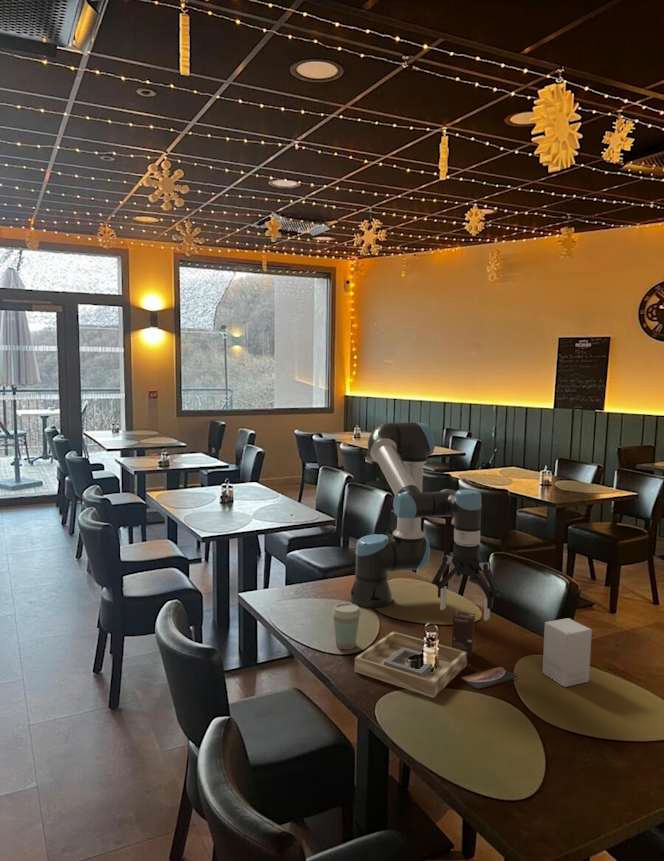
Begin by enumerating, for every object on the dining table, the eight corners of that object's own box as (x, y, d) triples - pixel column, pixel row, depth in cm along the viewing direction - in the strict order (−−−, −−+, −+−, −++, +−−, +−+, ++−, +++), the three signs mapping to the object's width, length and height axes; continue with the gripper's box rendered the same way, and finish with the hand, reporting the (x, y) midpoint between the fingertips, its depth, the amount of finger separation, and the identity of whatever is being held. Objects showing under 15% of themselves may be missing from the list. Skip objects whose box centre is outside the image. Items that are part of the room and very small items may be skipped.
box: (451, 655, 189) (452, 616, 187) (453, 648, 193) (454, 610, 192) (472, 658, 187) (473, 618, 186) (473, 651, 191) (475, 613, 190)
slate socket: (402, 653, 188) (402, 647, 188) (438, 664, 181) (438, 657, 181) (383, 668, 178) (383, 661, 178) (420, 680, 172) (420, 673, 172)
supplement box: (590, 682, 174) (593, 629, 172) (564, 688, 170) (567, 634, 169) (566, 667, 182) (569, 616, 181) (541, 672, 179) (543, 621, 177)
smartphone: (458, 677, 175) (500, 665, 182) (458, 680, 175) (500, 668, 182) (477, 688, 168) (519, 676, 175) (477, 692, 168) (519, 679, 175)
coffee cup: (360, 640, 198) (361, 602, 197) (358, 652, 189) (359, 613, 188) (333, 638, 199) (333, 601, 197) (330, 650, 190) (330, 612, 189)
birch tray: (392, 643, 196) (392, 631, 195) (466, 665, 182) (467, 652, 182) (354, 671, 178) (354, 657, 177) (433, 697, 164) (434, 683, 164)
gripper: (422, 539, 190) (420, 608, 192) (504, 553, 176) (501, 627, 178) (433, 534, 197) (431, 601, 198) (513, 547, 183) (510, 619, 184)
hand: (464, 613), depth 188 cm, fingers open, 13 cm apart
